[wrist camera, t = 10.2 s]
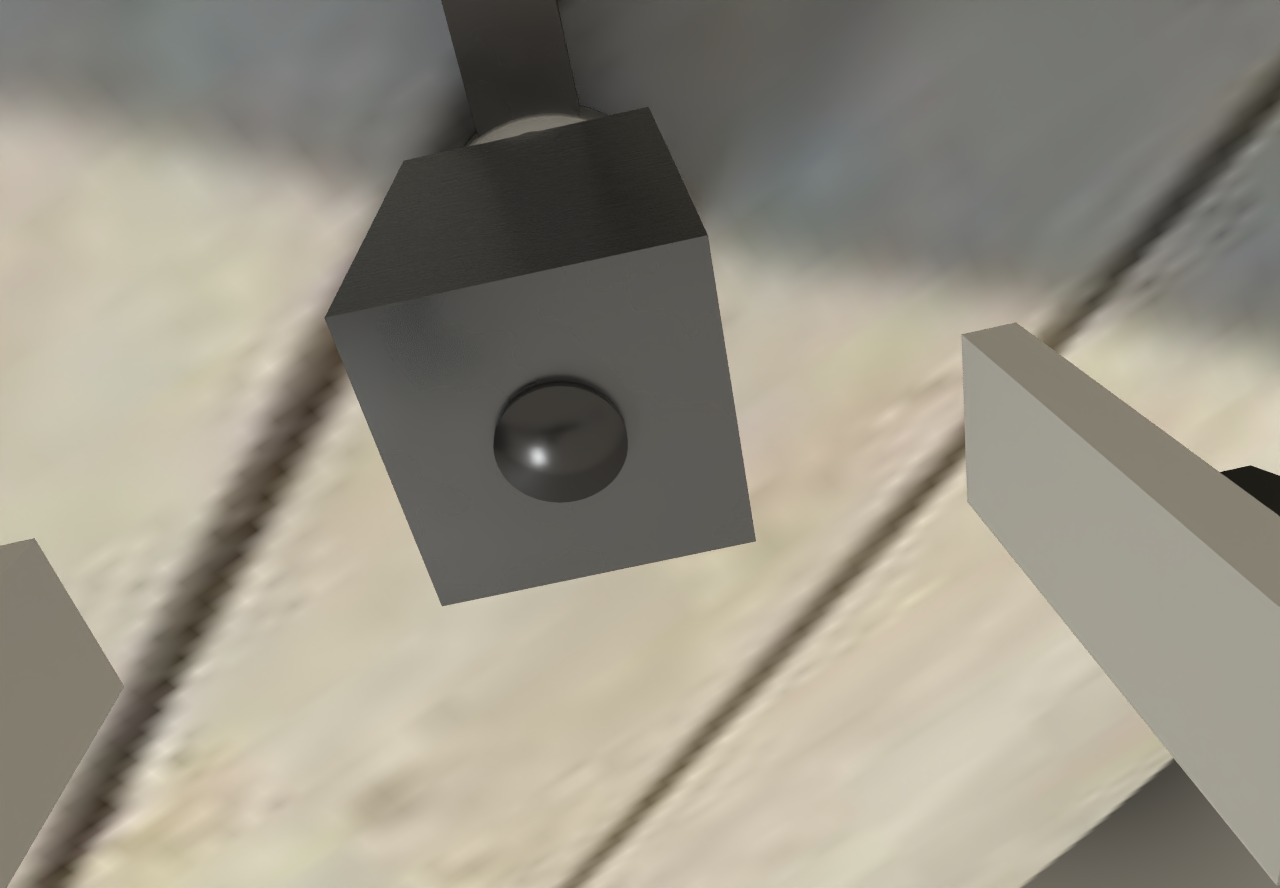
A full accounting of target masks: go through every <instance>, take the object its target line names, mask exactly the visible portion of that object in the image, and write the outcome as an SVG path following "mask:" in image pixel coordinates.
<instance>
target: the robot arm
mask: <svg viewBox="0 0 1280 888" xmlns="http://www.w3.org/2000/svg"><path fill="white" fill-rule="evenodd" d="M962 360H963V389H964V418H965V447H966V477H967V502H968V503H969V505H970V506H971V507H972V508H973V510H974V511H975V512H976V513H977V514H978V516H979V517H980V518H981V519H982V521H983V522H984V523H985V524H986V526H987V527H988V528H989V529H990V531H991V532H992V533H993V534H994V536H995V537H996V538H997V539H998V541H999V542H1000V543H1001V544H1002V545H1003V547H1004V548H1005V549H1006V550H1007V552H1008V553H1009V554H1010V555H1011V557H1012V558H1013V559H1014V560H1015V562H1016V563H1017V564H1018V565H1019V567H1020V568H1021V569H1022V570H1023V572H1024V573H1025V574H1026V575H1027V576H1028V578H1029V579H1030V580H1031V581H1032V583H1033V584H1034V585H1035V586H1036V588H1037V589H1038V590H1039V591H1040V593H1041V594H1042V595H1043V596H1044V598H1045V599H1046V600H1047V601H1048V603H1049V604H1050V605H1051V606H1052V607H1053V609H1054V610H1055V611H1056V612H1057V614H1058V615H1059V616H1060V617H1061V619H1062V620H1063V621H1064V622H1065V624H1066V625H1067V626H1068V627H1069V629H1070V630H1071V631H1072V632H1073V634H1074V635H1075V636H1076V637H1077V638H1078V640H1079V641H1080V642H1081V643H1082V645H1083V646H1084V647H1085V648H1086V650H1087V651H1088V652H1089V653H1090V655H1091V656H1092V657H1093V658H1094V660H1095V661H1096V662H1097V663H1098V665H1099V666H1100V667H1101V668H1102V669H1103V671H1104V672H1105V673H1106V674H1107V676H1108V677H1109V678H1110V679H1111V681H1112V682H1113V683H1114V684H1115V686H1116V687H1117V688H1118V689H1119V691H1120V692H1121V693H1122V694H1123V696H1124V697H1125V698H1126V699H1127V701H1128V702H1129V703H1130V704H1131V705H1132V707H1133V708H1134V709H1135V710H1136V712H1137V713H1138V714H1139V715H1140V717H1141V718H1142V719H1143V720H1144V722H1145V723H1146V724H1147V725H1148V727H1149V728H1150V729H1151V730H1152V732H1153V733H1154V734H1155V735H1156V736H1157V738H1158V739H1159V740H1160V741H1161V743H1162V744H1163V745H1164V746H1165V748H1166V749H1167V750H1168V751H1169V753H1170V754H1171V755H1172V756H1173V758H1174V759H1175V760H1176V761H1177V763H1178V764H1179V765H1180V766H1181V767H1182V769H1183V770H1184V771H1185V772H1186V774H1187V775H1188V776H1189V777H1190V779H1191V780H1192V781H1193V782H1194V783H1195V785H1196V786H1197V787H1198V788H1199V790H1200V791H1201V792H1202V794H1203V795H1204V796H1205V797H1206V798H1207V800H1208V801H1209V802H1210V803H1211V804H1212V806H1213V807H1214V808H1215V810H1216V811H1217V812H1218V813H1219V815H1220V816H1221V817H1222V818H1223V819H1224V821H1225V822H1226V823H1227V824H1228V826H1229V827H1230V828H1231V829H1232V831H1233V832H1234V833H1235V834H1236V835H1237V837H1238V838H1239V839H1240V841H1241V842H1242V843H1243V844H1244V846H1245V847H1246V848H1247V849H1248V850H1249V852H1250V853H1251V854H1252V856H1253V857H1254V858H1255V859H1256V860H1257V862H1258V863H1259V864H1260V865H1261V867H1262V868H1263V869H1264V870H1265V872H1267V874H1268V875H1269V877H1270V878H1271V879H1272V880H1273V882H1274V883H1275V884H1276V885H1280V476H1278V475H1276V474H1273V473H1270V472H1267V471H1265V470H1262V469H1259V468H1256V467H1254V466H1246V467H1241V468H1237V469H1232V470H1228V471H1223V472H1219V471H1217V470H1216V469H1215V468H1213V467H1212V466H1210V465H1209V464H1208V463H1206V462H1205V461H1204V460H1202V459H1201V458H1200V457H1198V456H1197V455H1195V454H1194V453H1193V452H1191V451H1190V450H1189V449H1187V448H1186V447H1185V446H1183V445H1182V444H1181V443H1179V442H1178V441H1176V440H1175V439H1174V438H1172V437H1171V436H1170V435H1168V434H1167V433H1166V432H1164V431H1163V430H1161V429H1160V428H1159V427H1157V426H1156V425H1155V424H1153V423H1152V422H1151V421H1149V420H1148V419H1147V418H1145V417H1144V416H1142V415H1141V414H1140V413H1138V412H1137V411H1136V410H1134V409H1133V408H1132V407H1130V406H1129V405H1127V404H1126V403H1125V402H1123V401H1122V400H1121V399H1119V398H1118V397H1117V396H1115V395H1114V394H1113V393H1111V392H1110V391H1108V390H1107V389H1106V388H1104V387H1103V386H1102V385H1100V384H1099V383H1098V382H1096V381H1095V380H1093V379H1092V378H1091V377H1089V376H1088V375H1087V374H1085V373H1084V372H1083V371H1081V370H1080V369H1079V368H1077V367H1076V366H1074V365H1073V364H1072V363H1070V362H1069V361H1068V360H1066V359H1065V358H1064V357H1062V356H1061V355H1059V354H1058V353H1057V352H1055V351H1054V350H1053V349H1051V348H1050V347H1049V346H1047V345H1046V344H1044V343H1043V342H1042V341H1040V340H1039V339H1038V338H1036V337H1035V336H1034V335H1032V334H1031V333H1030V332H1028V331H1027V330H1025V329H1024V328H1023V327H1021V326H1020V325H1019V324H1017V323H1012V324H1007V325H1003V326H998V327H994V328H989V329H984V330H980V331H975V332H971V333H966V334H962ZM123 688H124V685H123V684H122V682H121V680H120V679H119V677H118V675H117V674H116V672H115V670H114V669H113V667H112V665H111V664H110V662H109V661H108V659H107V657H106V656H105V654H104V652H103V651H102V649H101V647H100V646H99V644H98V642H97V641H96V639H95V637H94V636H93V634H92V632H91V631H90V629H89V627H88V626H87V624H86V622H85V621H84V619H83V618H82V616H81V614H80V613H79V611H78V609H77V608H76V606H75V604H74V603H73V601H72V599H71V598H70V596H69V594H68V593H67V591H66V589H65V588H64V586H63V584H62V583H61V581H60V580H59V578H58V576H57V575H56V573H55V571H54V570H53V568H52V566H51V565H50V563H49V561H48V560H47V558H46V556H45V555H44V553H43V551H42V550H41V548H40V546H39V545H38V543H37V542H36V540H35V538H34V539H29V540H25V541H20V542H15V543H11V544H6V545H2V546H0V888H7V886H8V884H9V883H10V881H11V879H12V877H13V876H14V874H15V872H16V871H17V869H18V867H19V865H20V864H21V862H22V860H23V859H24V857H25V855H26V854H27V852H28V850H29V848H30V847H31V845H32V843H33V842H34V840H35V838H36V836H37V835H38V833H39V831H40V830H41V828H42V826H43V824H44V823H45V821H46V819H47V818H48V816H49V814H50V813H51V811H52V809H53V807H54V806H55V804H56V802H57V801H58V799H59V797H60V795H61V794H62V792H63V790H64V789H65V787H66V785H67V783H68V782H69V780H70V778H71V777H72V775H73V773H74V771H75V770H76V768H77V766H78V765H79V763H80V761H81V760H82V758H83V756H84V754H85V753H86V751H87V749H88V748H89V746H90V744H91V742H92V741H93V739H94V737H95V736H96V734H97V732H98V730H99V729H100V727H101V725H102V724H103V722H104V720H105V718H106V717H107V715H108V713H109V712H110V710H111V708H112V707H113V705H114V703H115V701H116V700H117V698H118V696H119V695H120V693H121V691H122V689H123Z"/></svg>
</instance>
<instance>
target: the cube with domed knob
mask: <svg viewBox="0 0 1280 888" xmlns="http://www.w3.org/2000/svg"><path fill="white" fill-rule="evenodd" d="M325 320H326V323H327V325H328V327H329V330H330V332H331V335H332V337H333V340H334V342H335V345H336V347H337V350H338V352H339V354H340V357H341V359H342V362H343V364H344V367H345V369H346V372H347V374H348V377H349V379H350V381H351V384H352V386H353V389H354V391H355V394H356V396H357V399H358V401H359V404H360V406H361V408H362V411H363V413H364V416H365V418H366V421H367V423H368V426H369V428H370V431H371V433H372V435H373V438H374V440H375V443H376V445H377V448H378V450H379V453H380V455H381V458H382V460H383V462H384V465H385V467H386V470H387V472H388V475H389V477H390V480H391V482H392V485H393V487H394V489H395V492H396V494H397V497H398V499H399V502H400V504H401V507H402V509H403V512H404V514H405V516H406V519H407V521H408V524H409V526H410V529H411V531H412V534H413V536H414V539H415V541H416V543H417V546H418V548H419V551H420V553H421V556H422V558H423V561H424V563H425V566H426V568H427V570H428V573H429V575H430V578H431V580H432V583H433V585H434V588H435V590H436V593H437V595H438V597H439V600H440V602H441V605H442V606H446V605H451V604H455V603H460V602H465V601H470V600H475V599H479V598H484V597H489V596H494V595H499V594H504V593H508V592H513V591H518V590H523V589H528V588H533V587H537V586H542V585H547V584H552V583H557V582H561V581H566V580H571V579H576V578H581V577H586V576H590V575H595V574H600V573H605V572H610V571H615V570H619V569H624V568H629V567H634V566H639V565H643V564H648V563H653V562H658V561H663V560H668V559H672V558H677V557H682V556H687V555H692V554H697V553H701V552H706V551H711V550H716V549H721V548H725V547H730V546H735V545H740V544H745V543H750V542H754V541H756V539H755V533H754V526H753V520H752V513H751V507H750V501H749V494H748V488H747V482H746V475H745V469H744V463H743V456H742V450H741V444H740V437H739V431H738V424H737V418H736V412H735V405H734V399H733V393H732V386H731V380H730V374H729V367H728V361H727V355H726V348H725V342H724V336H723V329H722V323H721V316H720V310H719V304H718V297H717V291H716V285H715V278H714V272H713V266H712V259H711V253H710V247H709V240H708V235H707V233H706V230H705V228H704V226H703V224H702V222H701V220H700V217H699V215H698V213H697V211H696V209H695V207H694V204H693V202H692V200H691V198H690V196H689V194H688V191H687V189H686V187H685V185H684V183H683V181H682V178H681V176H680V174H679V172H678V170H677V168H676V165H675V163H674V161H673V159H672V157H671V155H670V152H669V150H668V148H667V146H666V144H665V142H664V139H663V137H662V135H661V133H660V131H659V129H658V126H657V124H656V122H655V120H654V118H653V116H652V113H651V111H650V109H649V107H646V108H642V109H637V110H632V111H628V112H623V113H619V114H614V115H610V116H605V117H601V118H596V119H591V120H587V121H582V122H578V123H573V124H569V125H564V126H560V127H555V128H550V129H546V130H541V131H537V132H532V133H528V134H523V135H519V136H514V137H509V138H505V139H500V140H496V141H491V142H487V143H482V144H478V145H473V146H468V147H464V148H459V149H455V150H450V151H446V152H441V153H437V154H432V155H427V156H423V157H418V158H414V159H409V160H405V161H403V163H402V165H401V167H400V169H399V171H398V173H397V175H396V177H395V179H394V181H393V183H392V185H391V187H390V189H389V191H388V193H387V195H386V197H385V199H384V201H383V203H382V205H381V207H380V209H379V211H378V213H377V215H376V217H375V219H374V221H373V223H372V225H371V227H370V229H369V231H368V233H367V235H366V237H365V239H364V241H363V243H362V245H361V247H360V249H359V251H358V253H357V255H356V257H355V259H354V261H353V263H352V265H351V267H350V269H349V270H348V272H347V274H346V276H345V278H344V280H343V282H342V284H341V286H340V288H339V290H338V292H337V294H336V296H335V298H334V300H333V302H332V304H331V306H330V308H329V310H328V312H327V314H326V316H325Z"/></svg>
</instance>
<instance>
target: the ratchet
mask: <svg viewBox="0 0 1280 888" xmlns="http://www.w3.org/2000/svg"><path fill="white" fill-rule="evenodd" d="M441 1H442V5H443V8H444V12H445V16H446V20H447V23H448V27H449V31H450V35H451V38H452V42H453V46H454V49H455V53H456V57H457V61H458V64H459V68H460V72H461V76H462V79H463V83H464V87H465V90H466V94H467V98H468V102H469V105H470V109H471V113H472V117H473V120H474V124H475V128H476V132H477V133H476V134H475V135H474V136H473V137H472V138H471V139H470V140H469V141H468V142H467V144H466V145H465V146H464V147H468V146H473V145H478V144H482V143H487V142H491V141H496V140H500V139H505V138H509V137H514V136H519V135H523V134H528V133H532V132H537V131H541V130H546V129H550V128H555V127H560V126H564V125H569V124H573V123H578V122H582V121H587V120H591V119H596V118H601V117H605V116H608V115H606V114H603V113H601V112H599V111H596V110H594V109H591V108H587V107H584V106H580V105H579V102H578V97H577V93H576V88H575V83H574V79H573V74H572V69H571V65H570V60H569V56H568V51H567V46H566V42H565V37H564V32H563V28H562V23H561V18H560V14H559V9H558V4H557V0H441ZM464 147H463V148H464Z"/></svg>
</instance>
